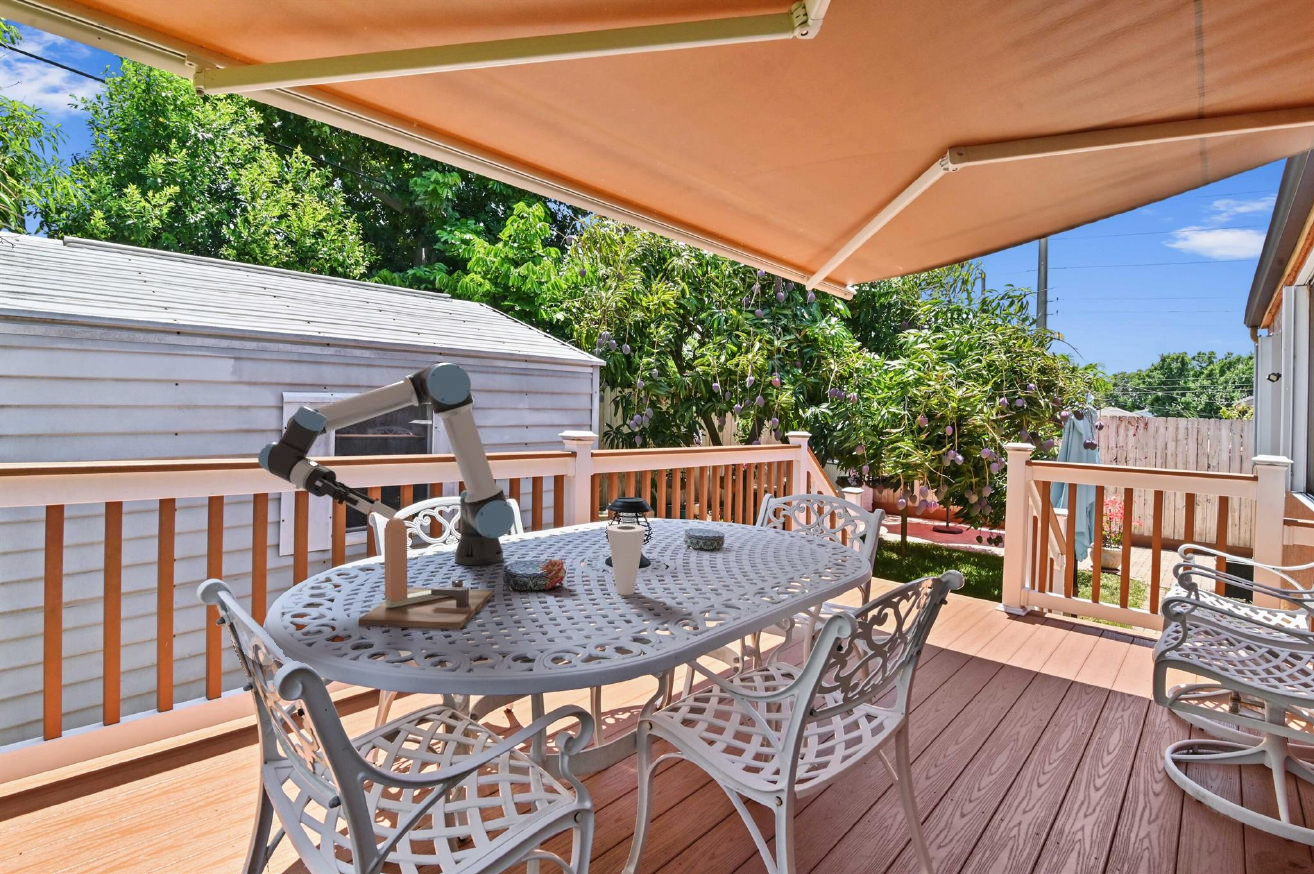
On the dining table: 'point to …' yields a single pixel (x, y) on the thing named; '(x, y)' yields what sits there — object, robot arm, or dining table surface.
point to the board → (427, 611)
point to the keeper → (454, 593)
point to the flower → (554, 572)
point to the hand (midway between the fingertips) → (382, 512)
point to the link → (399, 567)
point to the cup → (625, 555)
